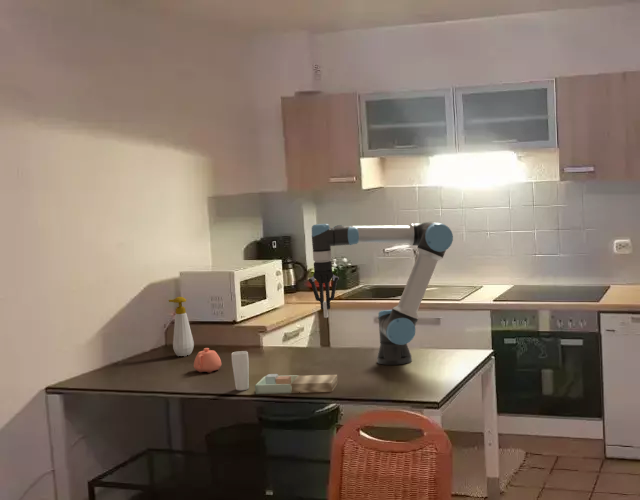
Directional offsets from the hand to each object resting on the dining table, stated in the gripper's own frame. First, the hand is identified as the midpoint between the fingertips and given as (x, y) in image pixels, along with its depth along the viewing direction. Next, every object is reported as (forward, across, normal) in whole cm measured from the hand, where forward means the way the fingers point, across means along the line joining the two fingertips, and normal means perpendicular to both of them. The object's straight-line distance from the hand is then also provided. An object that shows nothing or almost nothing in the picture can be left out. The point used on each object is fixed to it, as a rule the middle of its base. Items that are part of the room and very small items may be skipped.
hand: (326, 317), depth 389 cm
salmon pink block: (+24, +15, +24) cm, 37 cm away
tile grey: (+21, +17, +24) cm, 36 cm away
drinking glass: (+25, +32, +23) cm, 46 cm away
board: (+24, +2, +24) cm, 34 cm away
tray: (+24, +17, +24) cm, 38 cm away
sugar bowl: (+25, +58, -13) cm, 64 cm away
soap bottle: (+25, +82, -50) cm, 99 cm away
